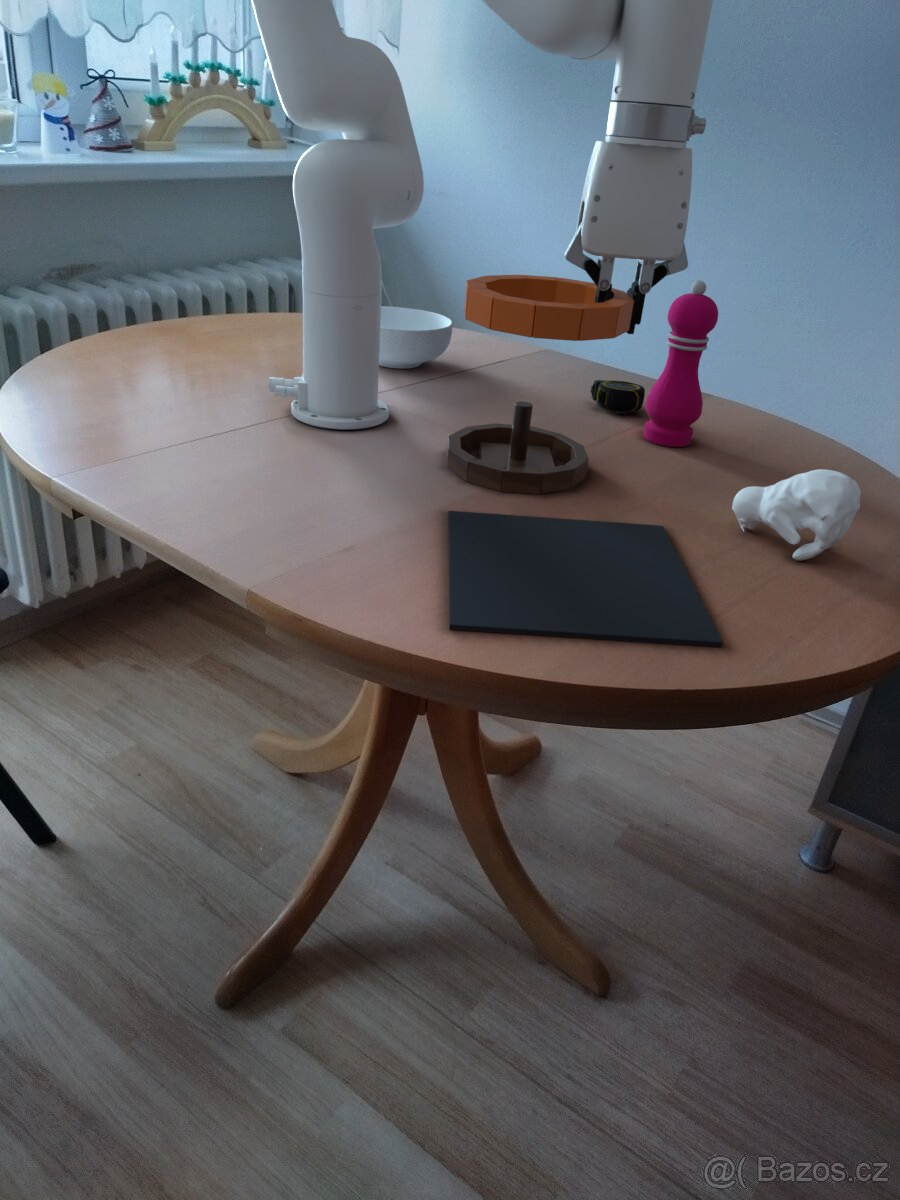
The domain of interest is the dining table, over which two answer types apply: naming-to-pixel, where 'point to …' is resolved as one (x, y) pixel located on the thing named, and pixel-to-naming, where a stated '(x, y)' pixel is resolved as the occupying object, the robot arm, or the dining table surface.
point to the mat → (571, 580)
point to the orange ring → (546, 307)
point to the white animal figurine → (802, 508)
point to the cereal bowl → (412, 336)
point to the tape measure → (618, 395)
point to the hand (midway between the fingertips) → (614, 328)
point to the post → (518, 445)
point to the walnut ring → (510, 476)
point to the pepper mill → (681, 370)
